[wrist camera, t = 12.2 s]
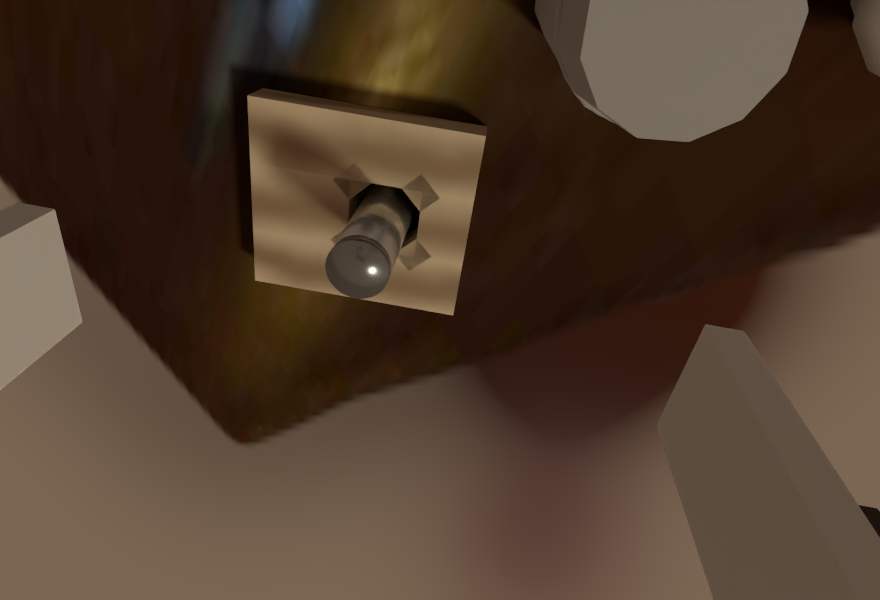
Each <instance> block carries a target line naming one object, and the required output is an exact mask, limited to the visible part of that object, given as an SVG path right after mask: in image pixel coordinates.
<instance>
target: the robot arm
mask: <svg viewBox="0 0 880 600" xmlns="http://www.w3.org/2000/svg"><path fill="white" fill-rule="evenodd" d="M81 323H82V318H81V314H80V310H79V306H78V302H77V298H76V293H75V290H74V286H73V281H72V278H71V273H70V269H69V265H68V261H67V257H66V253H65V249H64V245H63V241H62V236H61V232H60V228H59V224H58V220H57V216H56V212H55V209H51V208H45V207H39V206H34V205H28V204H22V203H16V204H14V205H12V206H9V207H8V208H5V209H3V210H1V211H0V390H1V389H2V388H3V387H5V386H6V385H7V384H8V383H9V382H11V381H12V380H13V379H14V378H15V377H17V376H18V375H19V374H20V373H22V372H23V371H24V370H25V369H26V368H27V367H29V366H30V365H31V364H32V363H34V362H35V361H36V360H37V359H38V358H40V357H41V356H42V355H43V354H44V353H46V352H47V351H48V350H49V349H51V348H52V347H53V346H54V345H55V344H57V343H58V342H59V341H60V340H61V339H63V338H64V337H65V336H66V335H67V334H69V333H70V332H71V331H72V330H74V329H75V328H76V327H77V326H78V325H80V324H81ZM657 428H658V431H659V435H660V438H661V441H662V443H663V447H664V450H665V453H666V456H667V459H668V462H669V465H670V468H671V471H672V474H673V477H674V480H675V483H676V486H677V489H678V493H679V496H680V499H681V501H682V505H683V507H684V511H685V514H686V517H687V520H688V523H689V526H690V529H691V532H692V535H693V538H694V541H695V544H696V547H697V550H698V554H699V557H700V559H701V563H702V566H703V569H704V572H705V575H706V578H707V581H708V584H709V587H710V590H711V593H712V596H713V599H714V600H880V511H879V510H878V509H877V508H871V507H866V506H860V505H858V504H857V502H856V501H855V499H854V498H853V496H852V495H851V493H850V492H849V491H848V489H847V487H846V486H845V484H844V483H843V481H842V480H841V478H840V477H839V475H838V473H837V472H836V470H835V469H834V467H833V466H832V465H831V463H830V461H829V460H828V458H827V457H826V455H825V454H824V452H823V451H822V449H821V448H820V446H819V444H818V443H817V442H816V440H815V438H814V437H813V435H812V434H811V432H810V431H809V429H808V428H807V426H806V425H805V423H804V422H803V420H802V419H801V417H800V416H799V414H798V412H797V411H796V410H795V408H794V406H793V405H792V403H791V402H790V400H789V399H788V398H787V396H786V394H785V393H784V392H783V390H782V388H781V387H780V385H779V384H778V382H777V381H776V379H775V377H774V376H773V374H772V373H771V371H770V370H769V368H768V367H767V365H766V364H765V362H764V361H763V359H762V358H761V356H760V355H759V353H758V352H757V350H756V349H755V347H754V346H753V344H752V342H751V341H750V339H749V338H748V337H747V335H746V333H745V332H744V331H740V330H734V329H728V328H723V327H717V326H711V325H705V326H704V328H703V330H702V332H701V335H700V337H699V339H698V341H697V343H696V345H695V347H694V349H693V351H692V353H691V355H690V357H689V359H688V361H687V364H686V366H685V368H684V370H683V372H682V374H681V376H680V378H679V380H678V382H677V384H676V386H675V388H674V390H673V393H672V395H671V397H670V399H669V401H668V403H667V405H666V407H665V409H664V411H663V413H662V415H661V417H660V419H659V422H658V424H657Z"/></svg>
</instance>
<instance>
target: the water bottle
mask: <svg viewBox="0 0 880 600" xmlns="http://www.w3.org/2000/svg"><path fill="white" fill-rule="evenodd" d="M808 11H809V10H808V4H807V0H536V2H535V13H536V16H537V18H538V21H539V24H540V26H541V29H542V32H543V34H544V37H545V39H546V40H547V42H548V44H549V46H550V48H551V49H552V51H553V53H554V55H555V56H556V58H557V60H558V62H559V65H560V67H561V70H562V73H563V76H564V79H565V80H566V81H567V83H568V85H569V86H570V88H571V90H572V91H573V93H574V94H575V95H576V96H577V97H578V99H579V100H580V101H581V103H582V104H583V105H584V107H586V108H588V109H590V110H591V111H593V112H594V113H596V114H597V115H600V116H602V117H604V118H606V119H607V120H609V121H611V122H614V123H616V124H617V125H619V126H620V127H622V128H623V129H625V130H626V131H628V132H629V133H631V134H632V135H633V136H635V137H636V138H645V139H657V140H670V141H683V142H690V141H692V140H694V139H697V138H699V137H702V136H704V135H706V134H709V133H711V132H713V131H716V130H718V129H721V128H723V127H725V126H728V125H730V124H733V123H735V122H737V121H740V120H742V119H743V118H744V117H745V116H746V115H747V114H748V113H749V112H750V111H751V110H752V109H753V108H754V107H755V106H756V105H757V103H758V102H759V101H760V100H761V99H762V98H763V97H764V96H765V95H766V94H767V93H768V92H769V91H770V90H771V89H772V88H773V87H774V86H775V85H776V84H777V82H778V81H779V80H780V79H781V78H782V77H783V76H784V75H785V74H786V73H787V70H788V68H789V65H790V62H791V59H792V56H793V54H794V51H795V48H796V45H797V42H798V40H799V37H800V34H801V31H802V28H803V26H804V23H805V20H806V17H807V14H808Z"/></svg>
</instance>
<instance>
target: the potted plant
mask: <svg viewBox="0 0 880 600" xmlns="http://www.w3.org/2000/svg"><path fill="white" fill-rule="evenodd" d="M850 4H851V7H852V10H853V13H854V20H853V24H852V27H853V30H854V32H855V35H856V38H857V41H858V44H859V46H860V49H861V52H862V55H863V58H864V60H865V63H866V66H867V69H868V70H869V71H870V72H872V73H874V74H876V75H878V76H880V0H851V2H850Z"/></svg>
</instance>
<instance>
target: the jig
mask: <svg viewBox="0 0 880 600" xmlns="http://www.w3.org/2000/svg"><path fill="white" fill-rule="evenodd" d="M247 100H248V123H249V147H250V170H251V193H252V216H253V239H254V262H255V280H256V281H261V282H267V283H273V284H278V285H284V286H290V287H295V288H301V289H307V290H312V291H318V292H324V293H329V294H335V295H341V296H346V295H344V294H342V293H341V292H339V291H338V290H337V289H336V288H335V287H334V286H333V285H332V284H331V282H330V281H329V279H328V277H327V274H326V270H325V262H326V258H327V256H328V254H329V252H330V251H331V249H332V248H333V246H334V244H335V243H336V241H337V240H338V238H339V237H340V235H341V233H342V232H343V230H344V229H345V227H346V226H347V224H348V222H349V221H350V219H351V218H352V216H353V214H354V213H355V211H356V210H357V195H358V193H359V192H360V191H362V190H363V189H364V188H366V187H367V186H368V185H370V184H371V183H373V184H379V185H385V186H391V187H397V188H402V190H403V191H404V192H405V193H406V195H407V196H408V197H409V198H410V200H411V201H412V202H413V203H414V205H415V206H416V207H417V209H418V210H419V211H420V217H419V225H418V227H417V228H416V229H414V230H413V231H411V232H410V233H408V234H407V235H406V236H405V239H404V241H403V244H402V246H401V249H400V251H399V254H398V257H397V259H396V262H395V264H394V267H393V270H392V272H391V275H390V277H389V280H388V283H387V285H386V287H385V288H384V289H383V290H382V291H381V292H380V293H379V294H377V295H376V296H373V297H371V298H365V299H363V300H369V301H375V302H380V303H386V304H392V305H397V306H403V307H409V308H414V309H420V310H426V311H431V312H437V313H443V314H448V315H453V313H454V307H455V302H456V296H457V291H458V285H459V280H460V274H461V269H462V264H463V258H464V253H465V247H466V242H467V236H468V231H469V225H470V220H471V214H472V209H473V204H474V198H475V193H476V187H477V182H478V176H479V171H480V165H481V160H482V155H483V149H484V144H485V138H486V131H487V126H482V125H476V124H470V123H464V122H458V121H452V120H446V119H441V118H435V117H429V116H423V115H417V114H411V113H405V112H400V111H394V110H388V109H382V108H376V107H370V106H364V105H358V104H353V103H347V102H341V101H335V100H329V99H323V98H317V97H312V96H306V95H300V94H294V93H288V92H282V91H276V90H270V89H265V88H262V89H260V90H258V91H256V92H254V93H251V94H249V95H247ZM346 297H349V296H346Z"/></svg>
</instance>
